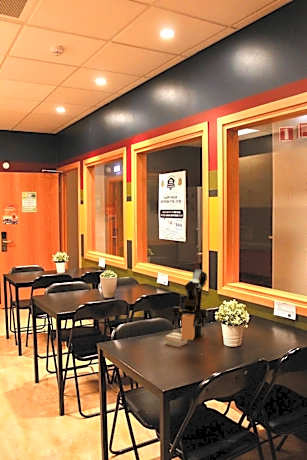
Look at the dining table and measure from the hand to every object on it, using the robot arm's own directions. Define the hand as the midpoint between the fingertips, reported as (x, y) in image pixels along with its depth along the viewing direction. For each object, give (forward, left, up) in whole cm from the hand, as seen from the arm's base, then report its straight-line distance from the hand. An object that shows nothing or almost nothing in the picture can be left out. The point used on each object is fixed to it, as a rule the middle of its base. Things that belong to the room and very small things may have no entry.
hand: (187, 326), depth 224 cm
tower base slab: (-9, -13, -14) cm, 21 cm away
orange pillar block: (-1, -1, -7) cm, 7 cm away
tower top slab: (-9, -13, -12) cm, 20 cm away
